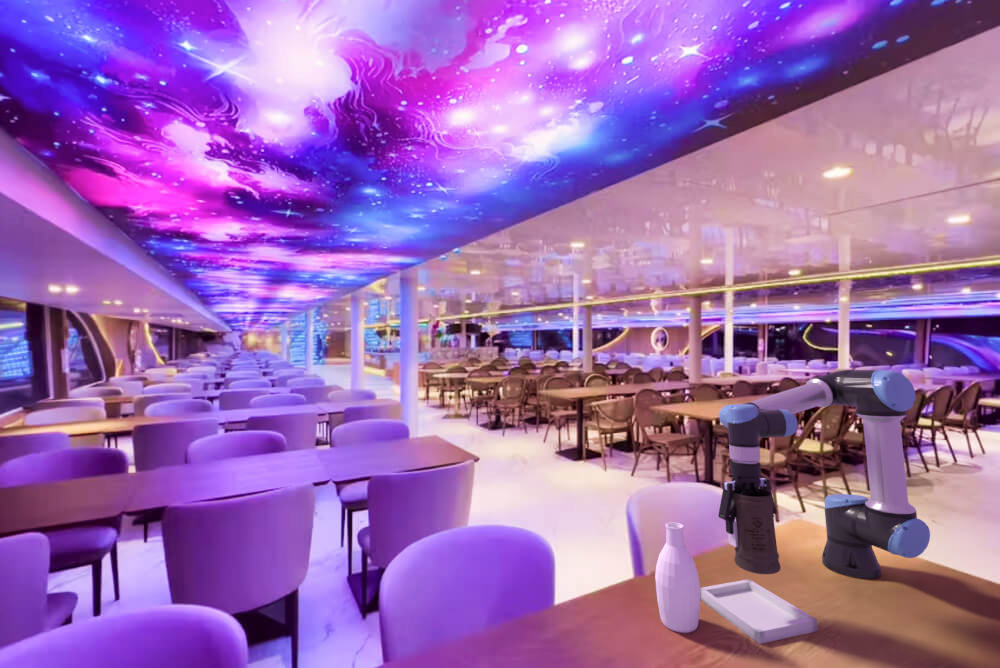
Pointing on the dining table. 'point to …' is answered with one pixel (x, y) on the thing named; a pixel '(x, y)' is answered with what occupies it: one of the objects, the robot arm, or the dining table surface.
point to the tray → (757, 611)
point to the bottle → (677, 583)
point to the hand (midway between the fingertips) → (749, 542)
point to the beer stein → (756, 534)
